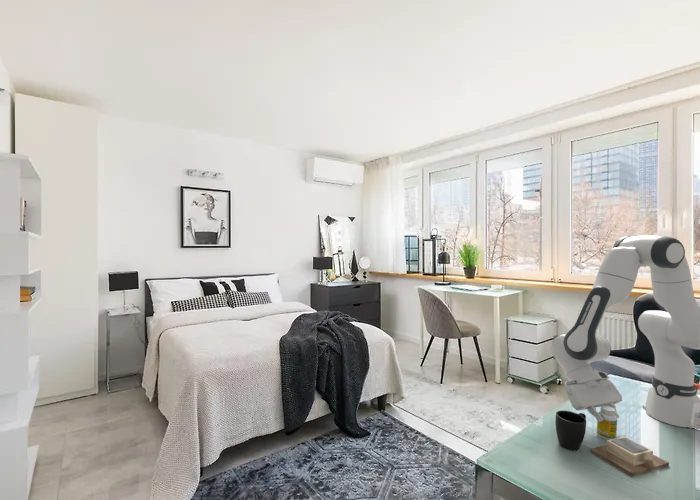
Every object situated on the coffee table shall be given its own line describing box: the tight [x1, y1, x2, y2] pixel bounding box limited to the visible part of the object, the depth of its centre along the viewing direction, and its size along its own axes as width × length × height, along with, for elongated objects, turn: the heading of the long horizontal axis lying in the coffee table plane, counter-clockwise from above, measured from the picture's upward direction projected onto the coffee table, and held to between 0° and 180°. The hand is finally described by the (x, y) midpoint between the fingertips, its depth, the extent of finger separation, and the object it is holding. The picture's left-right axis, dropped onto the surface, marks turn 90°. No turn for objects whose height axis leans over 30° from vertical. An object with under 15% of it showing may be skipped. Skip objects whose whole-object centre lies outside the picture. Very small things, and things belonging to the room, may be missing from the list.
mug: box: [554, 410, 587, 452], centre depth 117 cm, size 8×12×10 cm
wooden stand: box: [589, 435, 670, 477], centre depth 110 cm, size 16×12×4 cm
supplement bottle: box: [596, 406, 618, 441], centre depth 123 cm, size 5×5×10 cm
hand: (609, 419), depth 122 cm, fingers open, 5 cm apart
